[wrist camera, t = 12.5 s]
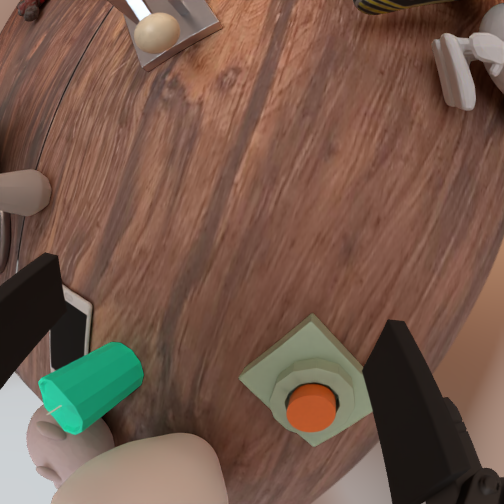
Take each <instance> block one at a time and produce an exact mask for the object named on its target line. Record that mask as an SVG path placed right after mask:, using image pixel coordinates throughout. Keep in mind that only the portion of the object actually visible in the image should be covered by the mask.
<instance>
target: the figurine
mask: <svg viewBox="0 0 504 504" xmlns="http://www.w3.org/2000/svg"><path fill="white" fill-rule="evenodd" d="M44 1H45V0H23V1H22V2H19V4H18V5H17V8H18V14H19V15H20V16H24V20H25V21H33V20H35V19H37V17H38V15H39V8H38V7H39V6H41V5H42V4H43V3H44Z"/></svg>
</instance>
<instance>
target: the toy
mask: <svg viewBox="0 0 504 504" xmlns="http://www.w3.org/2000/svg"><path fill="white" fill-rule="evenodd" d="M47 413H49V412H48V411H47V410H46V408H45V407H44V405H42V406H41V407H40V408H38V409H37V411H36V412H35V413H34V415H33V416H32V418H31V420H30V423H29V426H28V430H27V447H28V450H29V454H30V456H31V458H32V461H33V462H34V464H35V465H36V471H37V472H38V473H39V474H40V475H41V476H43V477H45V478H47V479H49V480H51V481H53V482H54V485H55V487H56V488H57V489H59V488H60V487H61V486H62V484H63V483H64V482H65V481H66V480H67V479H68V478H69V477H70V476H71V475H72V474H73V473H74V472H75V471H76V470H77V469H78V468H79V467H81V466H82V465H83V464H85V463H86V462H88V461H89V460H91V459H93V458H95V457H96V456H98V455H100V454H102V453H104V452H107V451H109V450H111V449H113V448H115V446H114V440H113V436H112V434H111V432H110V429H109V428H108V426H107V424H106V423H105V422H104V420H103V419H102V418H99V419H98V420H97V421H96V422H94V423H93V424H92V425H90V426H89V427H88V428H87V429H85V430H84V431H83V432H81V433H79V434H77V435H73V434H71V433H68V432H65V431H64V430H63V429H62V427H61V426H60V425H59V424H58V422H57V421H56V420H55V419H54V417H53V416H52V415H51V414H49V415H46V414H47Z"/></svg>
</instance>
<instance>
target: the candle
mask: <svg viewBox="0 0 504 504" xmlns="http://www.w3.org/2000/svg"><path fill="white" fill-rule="evenodd" d="M143 377H144V373H143V369H142V366H141V362H140V361H139V359H138V358H137V357H136V355H135V354H134V352H133V351H132V350H131V349H130V348H128V347H127V346H125V345H124V344H122V343H119V342H110V343H108V344H106V345H104V346H102V347H100V348H98V349H96V350H94V351H93V352H91V353H89V354H87V355H85V356H83V357H81V358H79V359H77V360H75V361H73V362H71V363H70V364H68V365H66V366H64V367H62V368H60V369H58V370H56V371H54V372H52V373H50V374H48V375H46V376H44V377H42V378H41V379H40V381H39V382H38V384H39V387H40V390H41V394H42V399H43V403H44V407H45V408H46V410H47V411H48V412H49V413H47V414H46V415H49V414H51V415H52V416H53V417H54V419H55V420H56V421H57V422H58V424H59V425H60V426H61V427H62V429H63V430H64V431H65V432H68V433H71V434H73V435H77V434H79V433H81V432H83V431H84V430H85V429H87V428H88V427H89V426H90V425H92V424H93V423H94V422H96V421H97V420H98V419H99V418H101V417H102V416H103V415H104V414H106V413H107V412H108V411H110V410H111V409H112V408H113V407H115V406H116V405H117V404H118V403H120V402H121V401H122V400H123V399H125V398H126V397H127V396H128V395H130V394H131V393H132V392H133V391H134V390H136V389H137V388H138V387H139V386H141V385H142V381H143Z"/></svg>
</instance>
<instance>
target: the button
mask: <svg viewBox="0 0 504 504" xmlns="http://www.w3.org/2000/svg"><path fill="white" fill-rule="evenodd" d="M286 416H287V419H288V421H289V423H290V424H291V425H292V426H293V427H294V428H296V429H298V430H300V431H303V432H318V431H322V430H324V429H326V428H327V427H329V426H330V425H331V424H332V422H333V421H334V419H335V416H336V399H335V396H334V394H333V392H332V391H331V390H330V389H329V388H327V387H325V386H323V385H320V384H306V385H303V386H300V387H299V388H297V389H296V390H295V391H294V392H293V393H292V395H291V397H290V400H289V404H288V408H287V412H286Z"/></svg>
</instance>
